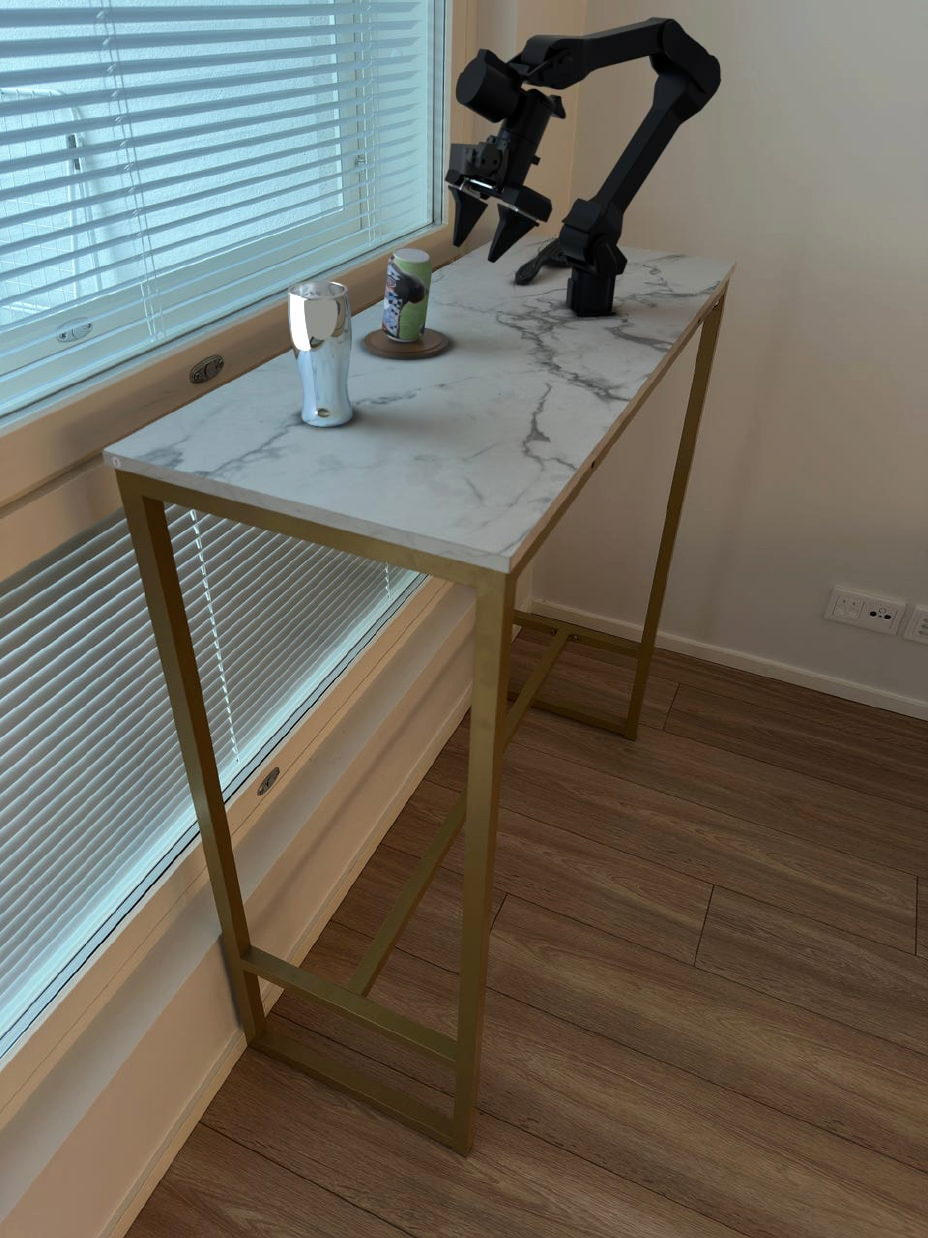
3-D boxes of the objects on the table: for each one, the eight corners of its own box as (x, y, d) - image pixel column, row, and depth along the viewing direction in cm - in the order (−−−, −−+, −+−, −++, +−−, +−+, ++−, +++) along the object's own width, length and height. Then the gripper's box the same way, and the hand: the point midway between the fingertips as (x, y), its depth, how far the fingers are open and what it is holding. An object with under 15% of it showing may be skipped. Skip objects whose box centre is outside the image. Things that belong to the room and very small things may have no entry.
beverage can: (392, 328, 132) (390, 241, 125) (439, 335, 130) (439, 247, 123) (374, 342, 127) (370, 253, 120) (422, 349, 125) (422, 259, 118)
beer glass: (365, 409, 110) (359, 283, 102) (341, 432, 105) (332, 301, 96) (314, 401, 112) (303, 276, 103) (287, 423, 107) (274, 294, 98)
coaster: (439, 328, 135) (440, 323, 134) (455, 357, 125) (455, 352, 125) (359, 331, 133) (359, 327, 132) (368, 361, 123) (368, 356, 123)
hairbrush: (497, 263, 153) (556, 224, 170) (496, 285, 155) (555, 245, 172) (542, 271, 150) (598, 231, 167) (540, 293, 152) (596, 251, 169)
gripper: (437, 102, 123) (395, 218, 128) (514, 121, 110) (463, 249, 115) (497, 137, 130) (455, 246, 135) (576, 159, 117) (526, 278, 123)
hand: (472, 253), depth 127 cm, fingers open, 9 cm apart
